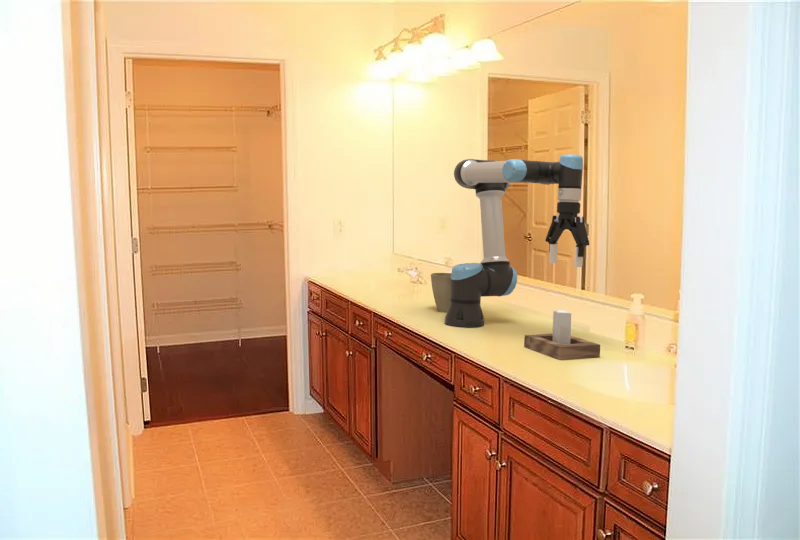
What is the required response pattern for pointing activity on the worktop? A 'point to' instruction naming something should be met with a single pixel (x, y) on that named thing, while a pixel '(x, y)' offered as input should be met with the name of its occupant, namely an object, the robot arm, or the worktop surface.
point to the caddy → (562, 347)
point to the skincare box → (561, 326)
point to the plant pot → (441, 290)
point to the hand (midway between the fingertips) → (565, 265)
